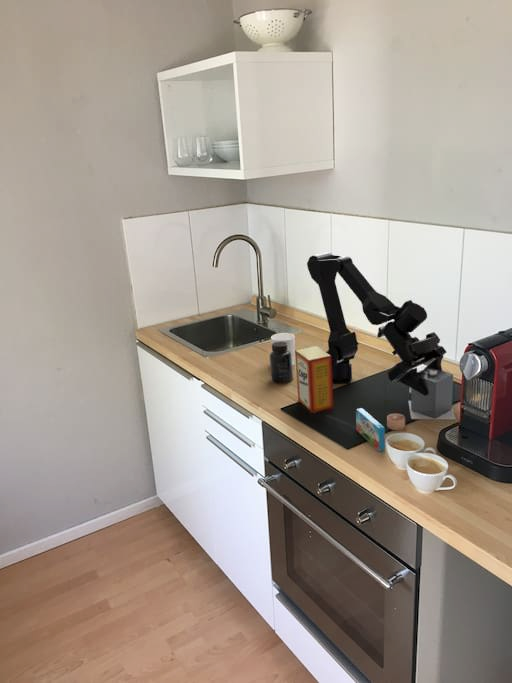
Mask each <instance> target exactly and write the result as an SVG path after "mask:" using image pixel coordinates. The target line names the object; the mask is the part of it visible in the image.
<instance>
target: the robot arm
mask: <svg viewBox="0 0 512 683" xmlns="http://www.w3.org/2000/svg"><path fill="white" fill-rule="evenodd" d="M306 267H307V269H308V270H307V271H308V272H309V276H310V277H311V279H312V281H314V282H315V283H316V285H318V288H319V292H320V296H321V299H322V304H323V307H324V308H323V309H324V312H325V316H326V319H327V320H326V321H327V323H328V324H327V325H328V327H329V331H330V332H329V336H328V340H327V345H328V350H327V351H325V352H326V353H328V354H329V355H330V356H331V362H332V384H350V383H351V380H352V379H353V365H352V363H351V362H350V360H354V359H355V357H356V353H357V352H358V351H359V350H358V348H359V346H358V345H359V344H360V343H359V342H358V340H357V334H356V332H355V331H351V330H350V329H349V328H348V327H347V323H346V320H345V316H344V312H343V308H342V305H341V300H340V296H339V293H338V289H337V284H336V279H337V275H339V276H340V278H342V280H343V281H344V282H345V284H346V285H347V286H348V287H349V289H350V290H351V291H352V293H353V294H354V295H355V296H356V298H357V299H358V300H359V301H360V303H361V305H362V306H361V307H362V312H363V314H364V316H365V318H366V319H367V320H368V322H369V323H370V324H371V325H372V326H379V325H382V326H380V327H378V331H377V338H379V339H380V338H382V337H385V339H386V341H387V342H388V343H389V345H390V346H391V347H392V349H393V351H392V352H391V354H392V355H393V356H396V355H397V356H398V358H400V362H398V363H397V362H396V364H395V365H393V367H391V368H390V369H389V370H388V371H387V374H386V375H387V378H388V379H389V381H390V382H391V383H393V382H395V381H396V383H401V384H403V385H405V386H407V387H408V388H409V387H411V388H413V389H414V390H416V391H418V392H419V393H421V394H423V395H424V396H426V395H428V392H427V390H426V388H425V387H424V385H423V383H422V382H421V380H420V379H419V377H418V375H417V368H415V367H417V366H419V365H422V364H424V365H426V366H427V367H426V368H428V367H430V368H434V369H437V370H441V371H443V368H442V361H443V359H444V355H445V354H447V351H446V348H444V347H443V346H442V345H439V343H440V342H441V338H439V336H438V334H436V333H435V331H434V332H430V333H428V334H426V335H425V338H423V339H419V338H418V337H416V336H414V337H412V335H411V334H410V333H412V332H414V331H415V330H416V329H417V328H419V326H420V325H422V324H423V323H424V322H425V321H426V320H427V318H428V313H427V311H426V309H425V308H424V307H423V306H421V304H418V303H415V302H414V301H413V300H412V299H407V301H405V302H404V303H403V304H402V305H401V306H398V305H396V304H394V303H393V302H392V301H391V300H390V299H389V298H388V297H387V296H385V295H383V294H382V293H379V292H377V290H375V289H374V287H373V286H372V285H371V284H370V282H369V281H368V280H367V279H366V278H365V276H364V275H363V274H362V272H360V269H358V268H357V266H356V265H355V264H354V262H353V259H352V258H351V257H350V256H346V255H345V256H343V255H340V254H332V253H331V252H329V251H326V252H322V253H319V254H314V255H311V256H310V257H309V258H308V260H307V262H306ZM384 323H386V324H385V325H383V324H384ZM413 368H414V369H413ZM426 368H424V369H426Z"/></svg>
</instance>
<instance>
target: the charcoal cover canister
mask: <svg viewBox="0 0 512 683" xmlns="http://www.w3.org/2000/svg"><path fill="white" fill-rule="evenodd" d="M417 375H418V377H419V379H420V380H421V382H422V383H423V385H424V387H425V388H426V390H427V392H428V395H426V396H424V395H423V394H421V393H419V392H418V391H416V390H414V389H413V388H411V393H410V394H411V397H410V401H411V410H412V411H414V412H417V413H420V414H423V415H426V416H428V417H431V418H434V419H433V420H437V419H436V418H438V417H439V416H441V415H443V414H445V413H447V412H448V411H450V410H452V408H453V391H454V389H453V388H454V386H453V385H454V374H453V373H450V372H449V371H444V370H442V371H441V370H437V369H434V368H430V367H428V368H426V369H424V370H422V371H419V372H417Z"/></svg>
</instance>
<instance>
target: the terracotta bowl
mask: <svg viewBox="0 0 512 683" xmlns="http://www.w3.org/2000/svg"><path fill="white" fill-rule="evenodd" d="M386 427H387V428H388V429H389V430H392V431H401V430H404V429H405V427H406V416H405V415H404V414H401V413H390V414H388V415H387V416H386Z"/></svg>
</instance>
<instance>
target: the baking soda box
mask: <svg viewBox="0 0 512 683" xmlns="http://www.w3.org/2000/svg"><path fill="white" fill-rule="evenodd" d="M326 352H327V351H324V349H322V348H320V347H319V346H317V345H313V346H309V347H305V348H299V349H295V366H296V367H295V368H296V385H297V398H298V399H297V400H298V402H299V401H300V402H301V403H302V404H303V405H305V406H306V407H307V408H308V409H309V410H310V411H311V412H318V411H322V410H326V411H328V410H327V409H330V410H332V409H333V408H334V390H333V383H332V362H331V356H330V355H329V354H328V353H326ZM300 402H299V403H300ZM301 403H300V404H301ZM302 404H301V405H302ZM303 405H302V406H303ZM311 412H310V413H311ZM322 412H323V411H322ZM318 413H319V412H318Z"/></svg>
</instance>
